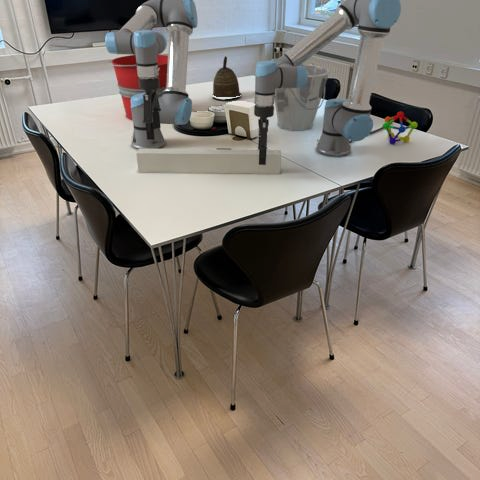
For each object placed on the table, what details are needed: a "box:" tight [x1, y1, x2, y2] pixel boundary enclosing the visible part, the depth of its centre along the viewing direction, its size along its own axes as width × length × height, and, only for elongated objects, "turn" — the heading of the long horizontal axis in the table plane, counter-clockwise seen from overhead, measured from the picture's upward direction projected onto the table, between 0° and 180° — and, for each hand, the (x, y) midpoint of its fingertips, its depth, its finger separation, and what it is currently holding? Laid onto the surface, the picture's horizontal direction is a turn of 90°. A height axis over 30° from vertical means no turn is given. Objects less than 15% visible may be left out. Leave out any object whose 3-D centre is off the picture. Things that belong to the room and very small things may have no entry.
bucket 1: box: [108, 54, 168, 121], centre depth 240 cm, size 35×35×30 cm
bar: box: [135, 148, 282, 175], centre depth 180 cm, size 58×5×8 cm, turn 89°
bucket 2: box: [274, 63, 330, 131], centre depth 226 cm, size 30×30×28 cm
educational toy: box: [382, 110, 418, 145], centre depth 207 cm, size 16×13×15 cm
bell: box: [212, 56, 242, 97], centre depth 278 cm, size 19×26×20 cm
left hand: (154, 133), depth 174 cm, fingers open, 13 cm apart
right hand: (261, 158), depth 178 cm, fingers open, 13 cm apart
